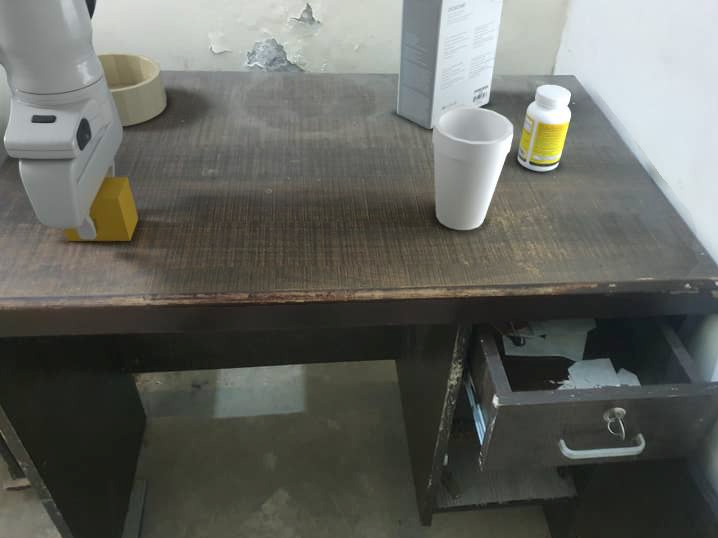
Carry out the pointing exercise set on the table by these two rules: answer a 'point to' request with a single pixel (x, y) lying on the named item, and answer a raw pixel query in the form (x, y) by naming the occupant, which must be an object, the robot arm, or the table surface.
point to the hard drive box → (446, 56)
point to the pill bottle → (545, 128)
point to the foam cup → (468, 163)
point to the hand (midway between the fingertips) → (99, 213)
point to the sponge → (111, 212)
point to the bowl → (134, 86)
